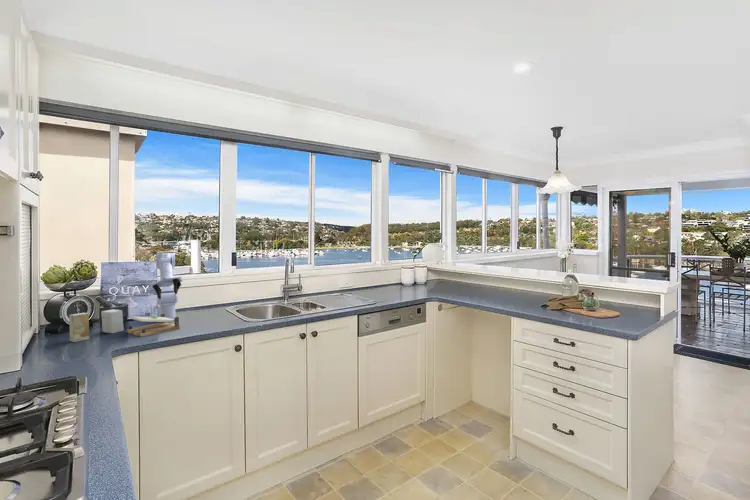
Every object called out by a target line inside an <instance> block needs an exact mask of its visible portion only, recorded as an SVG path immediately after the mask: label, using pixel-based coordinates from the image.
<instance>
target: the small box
mask: <svg viewBox="0 0 750 500" xmlns="http://www.w3.org/2000/svg"><path fill="white" fill-rule="evenodd" d="M100 314H101V326H102V327H101V328H102V333H108V334H115V333H119V332H123V331H124V317H123V316H124V314H123V310H121V309H112V308H111V309H107V310H101V313H100Z"/></svg>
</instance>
